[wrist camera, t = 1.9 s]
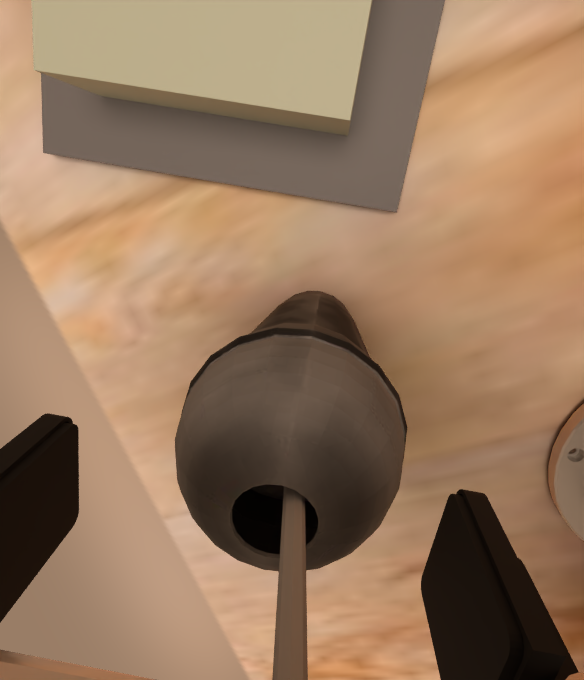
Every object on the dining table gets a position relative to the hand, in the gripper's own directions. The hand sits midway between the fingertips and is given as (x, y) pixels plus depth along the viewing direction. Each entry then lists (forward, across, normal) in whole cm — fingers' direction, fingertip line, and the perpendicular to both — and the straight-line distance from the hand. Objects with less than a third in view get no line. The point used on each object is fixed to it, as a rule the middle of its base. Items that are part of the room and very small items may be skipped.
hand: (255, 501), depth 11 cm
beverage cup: (+15, -1, 0) cm, 15 cm away
